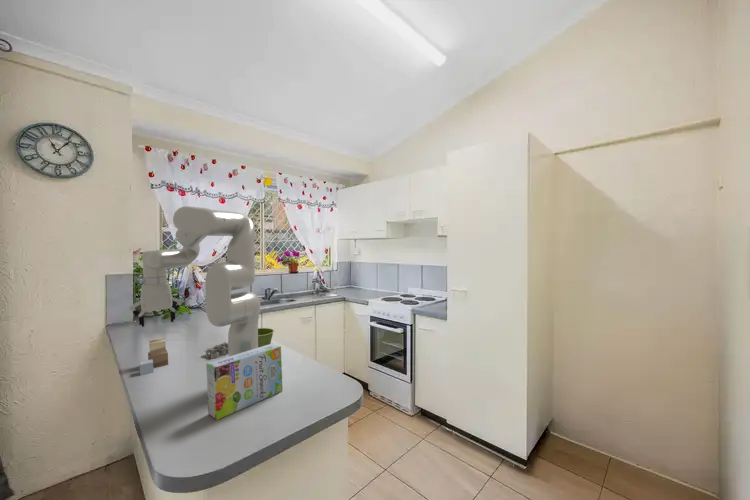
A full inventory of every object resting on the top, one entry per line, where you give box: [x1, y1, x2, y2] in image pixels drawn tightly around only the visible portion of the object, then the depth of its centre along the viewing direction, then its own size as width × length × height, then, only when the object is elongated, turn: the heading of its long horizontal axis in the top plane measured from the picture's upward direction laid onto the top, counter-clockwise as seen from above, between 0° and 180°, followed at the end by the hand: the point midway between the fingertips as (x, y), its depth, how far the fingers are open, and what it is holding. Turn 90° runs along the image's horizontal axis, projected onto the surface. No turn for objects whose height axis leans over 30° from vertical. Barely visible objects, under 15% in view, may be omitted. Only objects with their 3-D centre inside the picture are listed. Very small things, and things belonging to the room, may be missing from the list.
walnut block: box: [147, 349, 169, 369], centre depth 125 cm, size 6×6×5 cm
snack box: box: [205, 343, 283, 421], centre depth 94 cm, size 21×6×15 cm, turn 141°
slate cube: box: [139, 359, 154, 376], centre depth 118 cm, size 4×4×4 cm
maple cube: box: [148, 337, 167, 356], centre depth 124 cm, size 5×5×5 cm
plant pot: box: [258, 327, 275, 348], centre depth 130 cm, size 12×12×11 cm
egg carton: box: [203, 341, 228, 360], centre depth 136 cm, size 11×8×4 cm
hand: (157, 323), depth 124 cm, fingers open, 9 cm apart
